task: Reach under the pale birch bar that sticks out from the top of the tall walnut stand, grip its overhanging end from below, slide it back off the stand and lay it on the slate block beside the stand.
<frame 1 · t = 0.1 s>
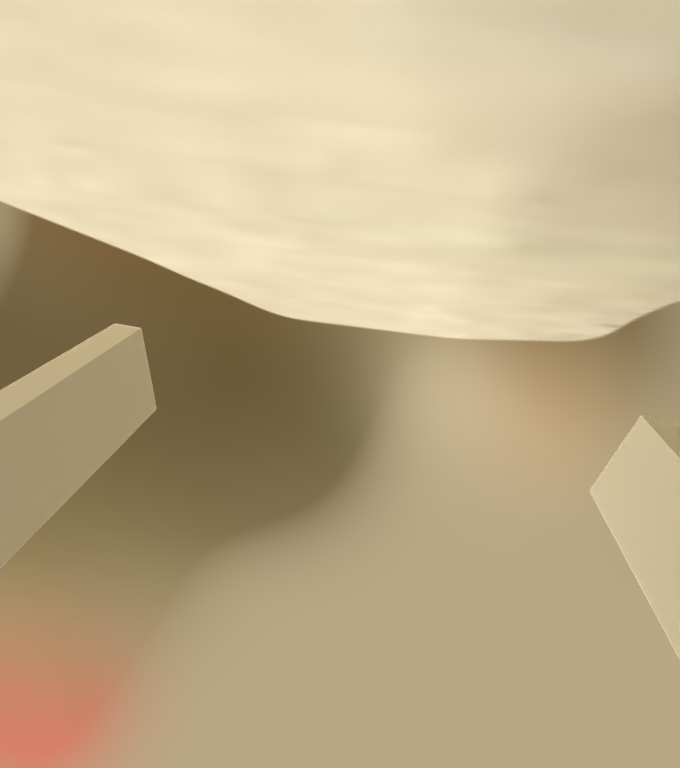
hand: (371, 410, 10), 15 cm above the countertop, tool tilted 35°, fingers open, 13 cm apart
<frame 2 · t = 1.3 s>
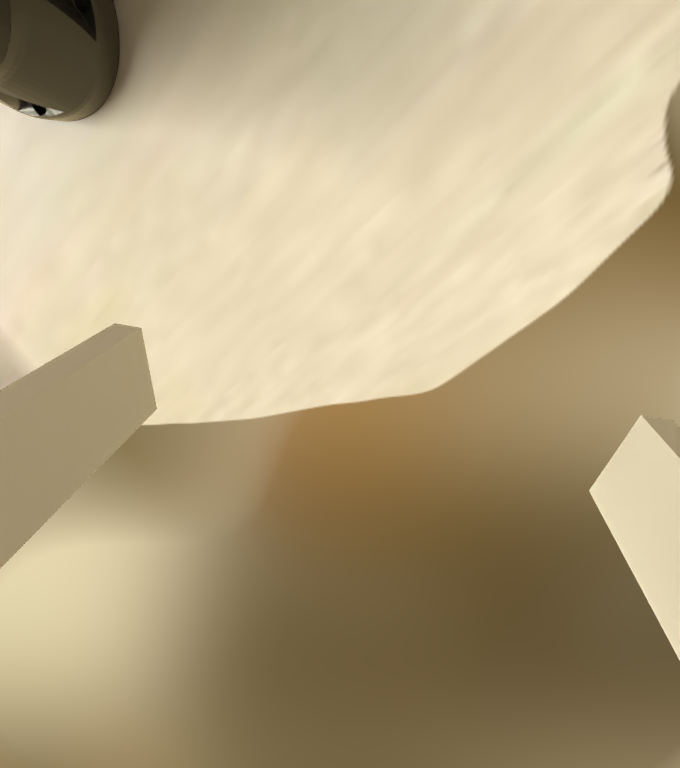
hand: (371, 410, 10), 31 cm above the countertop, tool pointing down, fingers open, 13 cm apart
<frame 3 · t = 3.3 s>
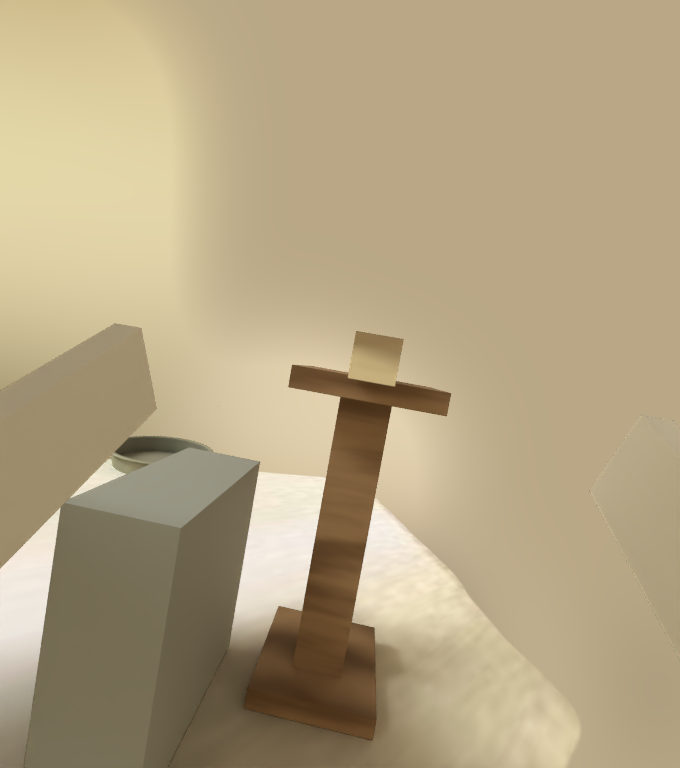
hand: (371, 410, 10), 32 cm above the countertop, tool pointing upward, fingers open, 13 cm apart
walnut stand: (316, 671, 40), on the countertop
slate block: (149, 707, 33), on the countertop
cake pan: (160, 465, 95), on the countertop
birch bar: (370, 378, 36), point 32 cm above the countertop, touching walnut stand
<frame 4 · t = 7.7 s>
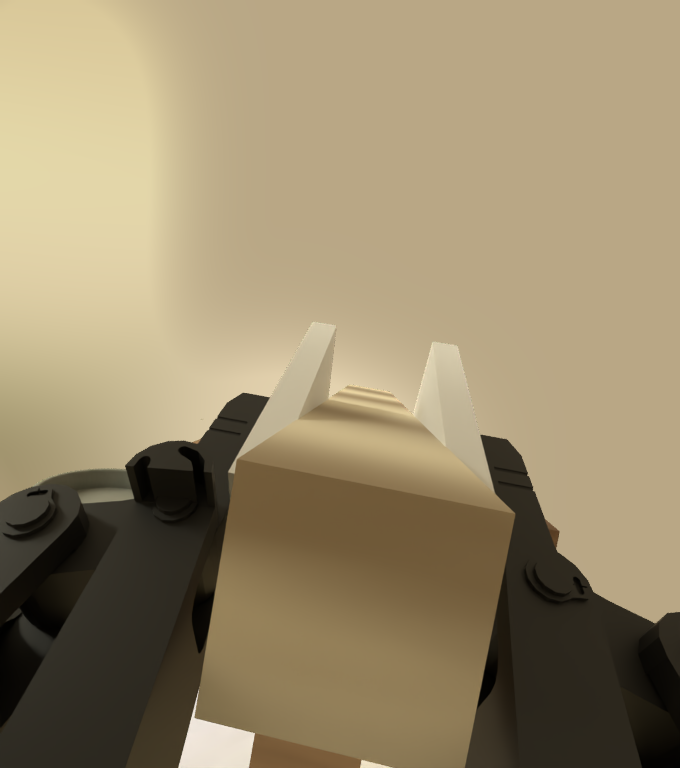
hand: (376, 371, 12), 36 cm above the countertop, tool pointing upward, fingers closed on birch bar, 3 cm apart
cake pan: (104, 510, 76), on the countertop
birch bar: (357, 468, 16), point 32 cm above the countertop, touching gripper, walnut stand
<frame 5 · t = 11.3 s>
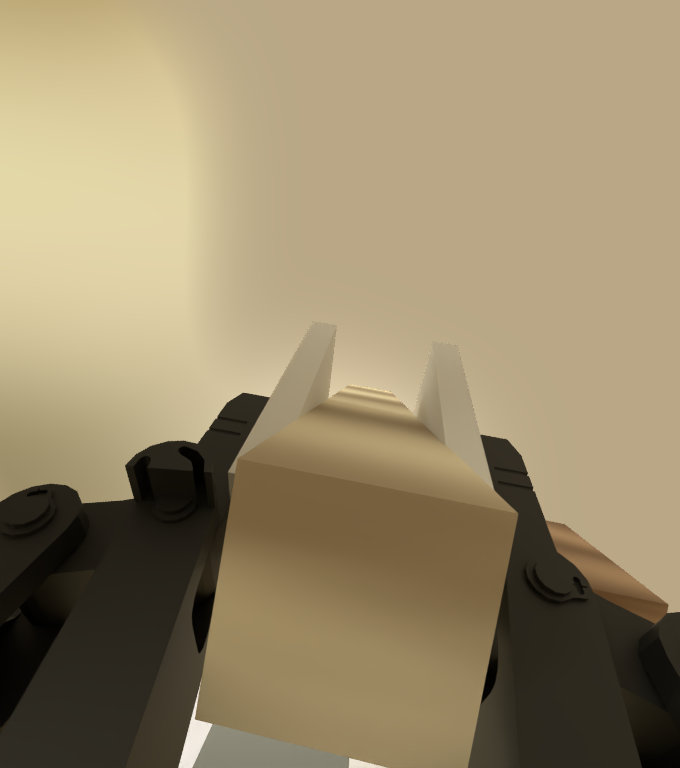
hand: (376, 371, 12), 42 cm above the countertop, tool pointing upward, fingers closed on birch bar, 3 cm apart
birch bar: (358, 468, 16), point 38 cm above the countertop, touching gripper
when the fingers open (27 cm above the countertop, at t = 14.9 s): birch bar drops 1 cm, resting on slate block.
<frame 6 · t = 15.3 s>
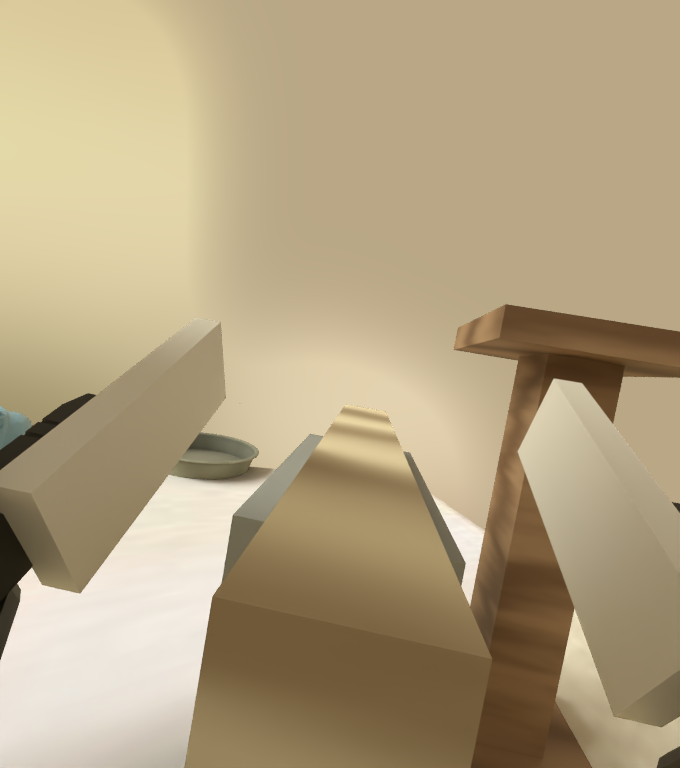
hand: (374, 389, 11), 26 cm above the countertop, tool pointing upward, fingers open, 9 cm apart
walnut stand: (489, 742, 29), on the countertop
cake pan: (200, 465, 84), on the countertop
birch bar: (351, 503, 16), point 21 cm above the countertop, touching slate block
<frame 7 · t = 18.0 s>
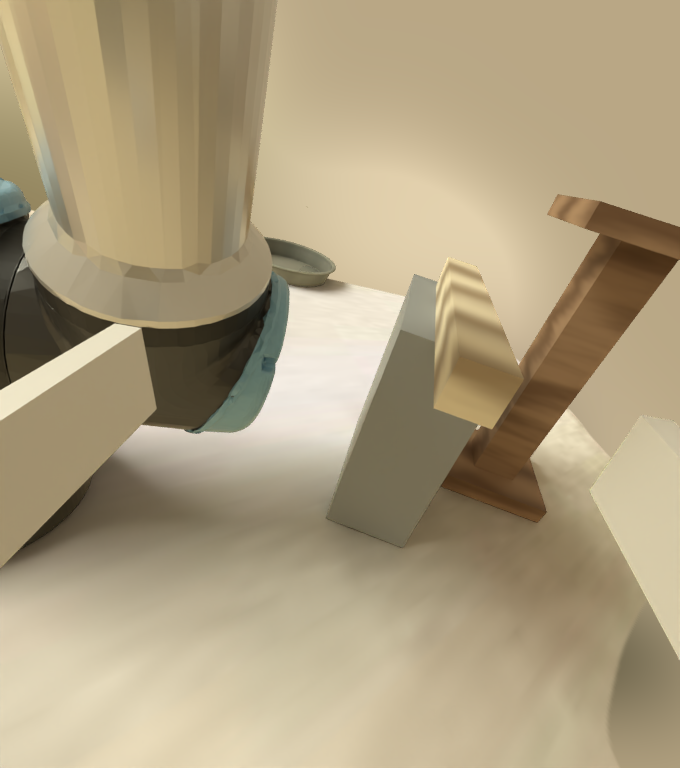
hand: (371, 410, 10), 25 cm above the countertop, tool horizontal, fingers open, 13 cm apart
walnut stand: (483, 470, 50), on the countertop
slate block: (376, 474, 44), on the countertop
cake pan: (285, 271, 97), on the countertop
birch bar: (454, 331, 29), point 21 cm above the countertop, touching slate block
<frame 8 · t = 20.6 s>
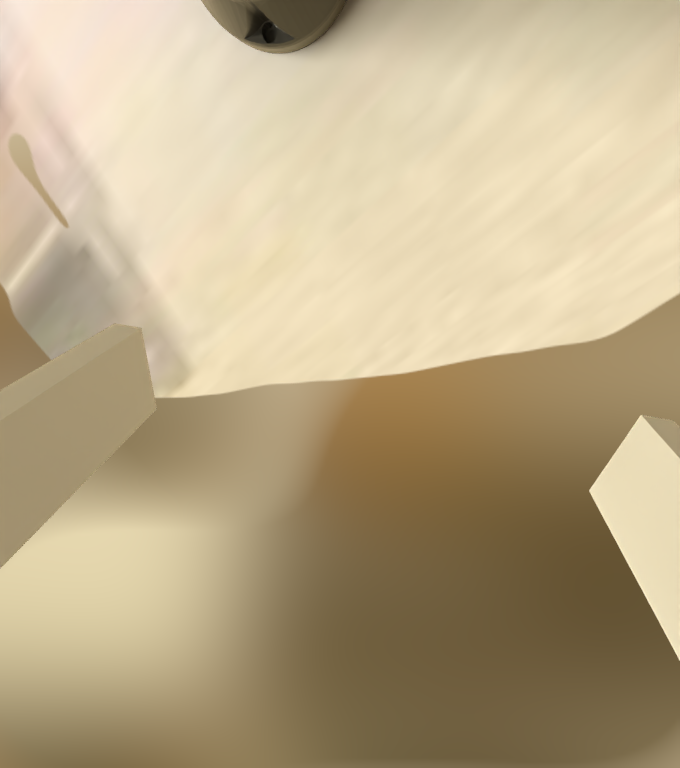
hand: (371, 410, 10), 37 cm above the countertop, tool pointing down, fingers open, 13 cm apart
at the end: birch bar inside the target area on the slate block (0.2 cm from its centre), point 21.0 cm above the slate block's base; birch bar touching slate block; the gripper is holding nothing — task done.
